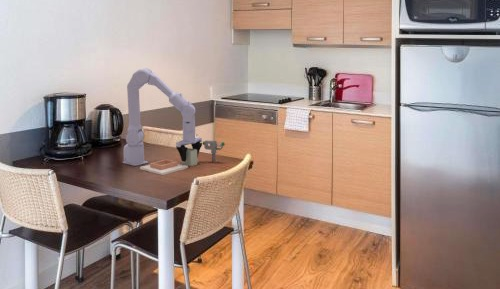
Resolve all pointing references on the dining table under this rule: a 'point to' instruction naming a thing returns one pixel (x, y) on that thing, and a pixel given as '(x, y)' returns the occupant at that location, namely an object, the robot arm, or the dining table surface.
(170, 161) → the duct plate
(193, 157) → the striped green box
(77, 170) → the dining table surface
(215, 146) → the mechanical component
